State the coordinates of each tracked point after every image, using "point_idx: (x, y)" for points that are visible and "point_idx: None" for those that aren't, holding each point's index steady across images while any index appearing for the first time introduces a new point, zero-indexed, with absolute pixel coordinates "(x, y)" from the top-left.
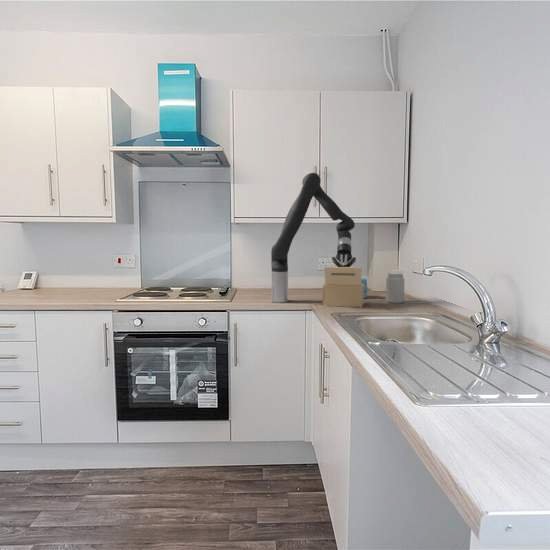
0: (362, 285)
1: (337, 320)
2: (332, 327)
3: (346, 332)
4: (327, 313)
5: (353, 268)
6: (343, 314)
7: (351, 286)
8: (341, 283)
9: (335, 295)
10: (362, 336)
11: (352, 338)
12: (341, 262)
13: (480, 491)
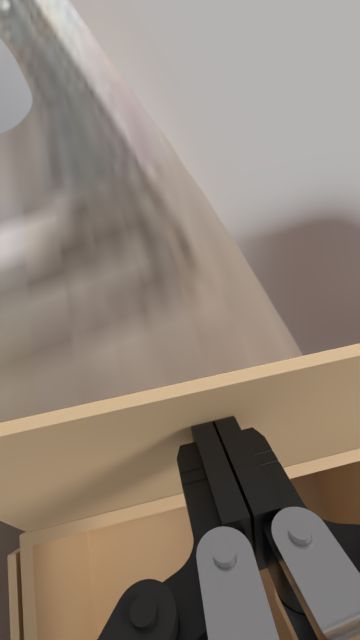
0: (24, 624)
1: (132, 161)
2: (122, 82)
3: (72, 53)
4: (209, 258)
5: (34, 422)
6: (136, 264)
7: (130, 506)
8: None
9: None
10: (25, 36)
11: (48, 17)
12: (349, 598)
13: None
